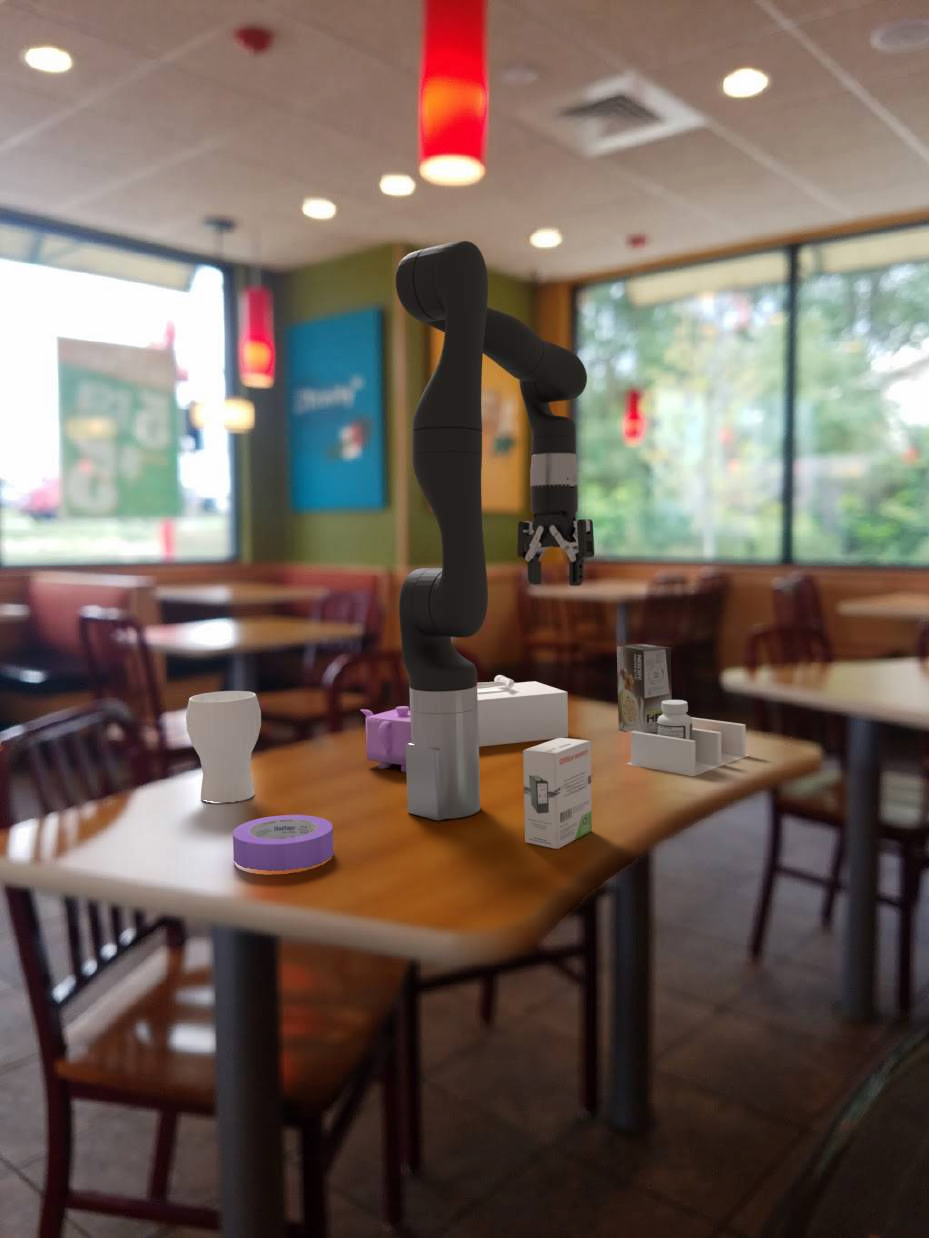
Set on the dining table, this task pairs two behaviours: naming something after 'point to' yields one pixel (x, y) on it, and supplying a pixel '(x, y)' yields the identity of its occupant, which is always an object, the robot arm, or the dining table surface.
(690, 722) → the pill bottle
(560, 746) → the ink box
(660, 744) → the rack
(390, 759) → the teapot
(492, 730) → the tissue box
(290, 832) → the masking tape
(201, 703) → the cup
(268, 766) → the dining table surface
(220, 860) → the dining table surface
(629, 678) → the coffee box
